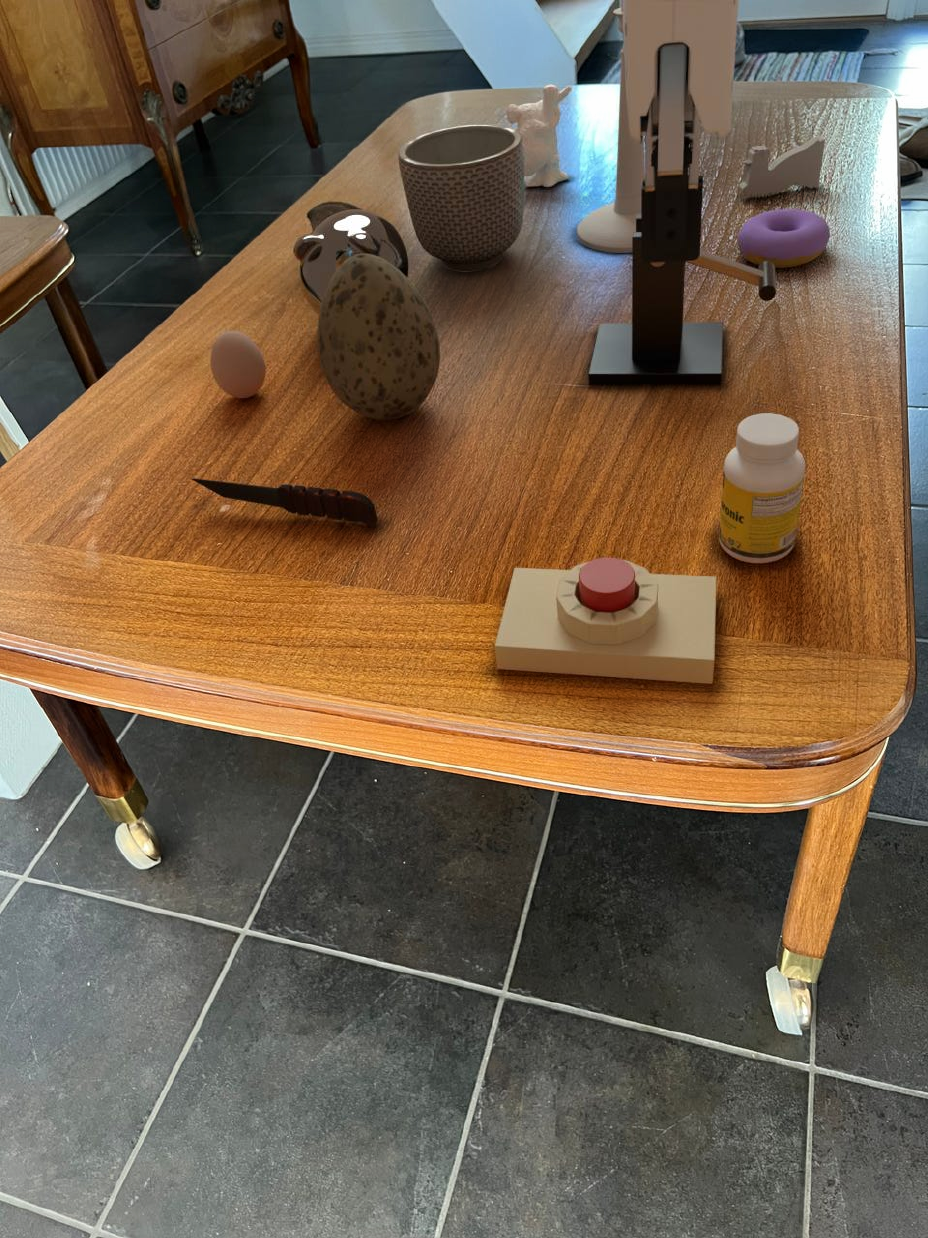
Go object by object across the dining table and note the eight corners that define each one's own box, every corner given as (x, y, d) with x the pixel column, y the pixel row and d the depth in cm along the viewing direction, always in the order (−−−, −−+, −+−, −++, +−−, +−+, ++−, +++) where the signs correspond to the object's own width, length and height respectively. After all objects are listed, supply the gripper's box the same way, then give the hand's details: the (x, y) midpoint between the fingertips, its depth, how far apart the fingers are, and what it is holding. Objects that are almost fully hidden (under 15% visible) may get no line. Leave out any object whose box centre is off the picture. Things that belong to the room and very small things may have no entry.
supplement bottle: (711, 523, 72) (719, 411, 66) (783, 516, 72) (799, 402, 65) (725, 569, 68) (736, 454, 62) (802, 562, 68) (821, 446, 61)
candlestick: (648, 201, 120) (652, -92, 100) (707, 232, 111) (724, -83, 91) (558, 227, 117) (543, -68, 97) (610, 262, 108) (606, -56, 88)
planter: (536, 232, 117) (529, 118, 108) (524, 282, 107) (515, 161, 98) (426, 239, 120) (410, 128, 111) (404, 288, 110) (385, 170, 101)
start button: (637, 578, 64) (637, 557, 62) (632, 614, 61) (632, 594, 60) (583, 575, 64) (582, 555, 63) (576, 611, 62) (575, 591, 61)
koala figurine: (578, 173, 130) (574, 75, 122) (571, 191, 126) (567, 91, 118) (517, 175, 132) (510, 80, 124) (508, 194, 128) (500, 95, 120)
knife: (197, 506, 82) (186, 478, 80) (203, 500, 83) (192, 471, 81) (375, 529, 77) (368, 498, 75) (379, 521, 78) (372, 491, 76)
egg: (282, 392, 95) (264, 329, 91) (238, 414, 93) (218, 350, 88) (255, 377, 98) (236, 314, 94) (212, 397, 96) (191, 335, 92)
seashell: (317, 234, 124) (317, 178, 119) (386, 244, 124) (389, 188, 120) (291, 287, 112) (291, 227, 107) (367, 297, 112) (370, 238, 108)
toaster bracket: (722, 332, 94) (732, 199, 85) (721, 385, 87) (731, 245, 78) (599, 334, 96) (597, 205, 88) (588, 385, 89) (584, 250, 81)
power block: (714, 600, 66) (718, 555, 64) (712, 684, 61) (716, 639, 58) (516, 590, 70) (512, 547, 67) (497, 669, 64) (491, 626, 61)
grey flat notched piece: (818, 188, 117) (739, 201, 117) (813, 184, 118) (734, 197, 118) (825, 138, 113) (743, 151, 113) (820, 135, 114) (739, 148, 114)
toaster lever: (767, 282, 87) (780, 258, 85) (768, 308, 83) (781, 283, 82) (641, 241, 87) (651, 215, 85) (637, 264, 83) (647, 238, 81)
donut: (801, 277, 99) (797, 229, 97) (723, 277, 106) (718, 233, 103) (847, 241, 104) (845, 195, 101) (770, 244, 110) (766, 201, 108)
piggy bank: (293, 357, 100) (265, 250, 93) (337, 293, 111) (315, 192, 103) (394, 357, 98) (373, 247, 90) (429, 292, 108) (414, 187, 100)
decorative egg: (322, 403, 93) (284, 251, 83) (425, 372, 95) (400, 220, 85) (354, 457, 85) (316, 296, 75) (465, 421, 87) (443, 260, 77)
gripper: (778, -151, 36) (742, 314, 48) (763, -187, 46) (737, 202, 58) (577, -125, 37) (592, 319, 50) (607, -165, 48) (613, 209, 60)
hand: (670, 254), depth 54 cm, fingers closed
